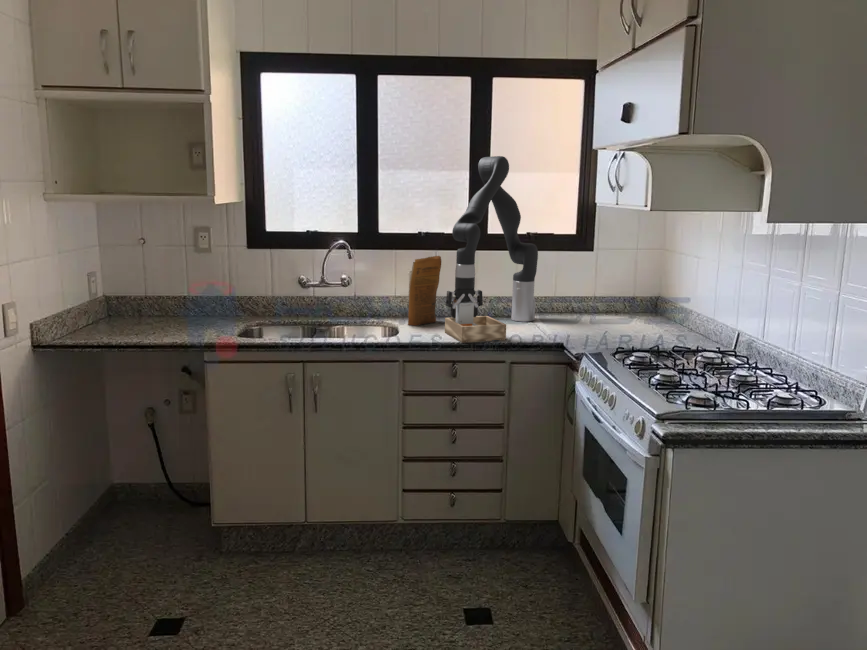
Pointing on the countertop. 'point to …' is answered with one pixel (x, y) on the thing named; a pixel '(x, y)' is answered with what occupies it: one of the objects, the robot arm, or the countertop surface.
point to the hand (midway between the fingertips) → (463, 317)
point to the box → (476, 330)
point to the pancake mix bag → (423, 290)
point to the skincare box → (465, 313)
